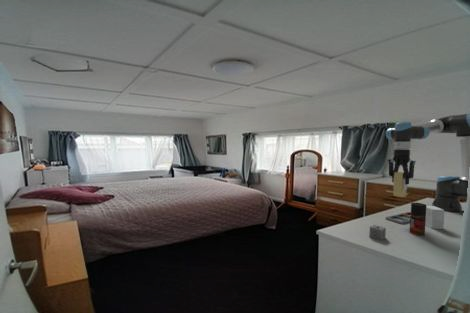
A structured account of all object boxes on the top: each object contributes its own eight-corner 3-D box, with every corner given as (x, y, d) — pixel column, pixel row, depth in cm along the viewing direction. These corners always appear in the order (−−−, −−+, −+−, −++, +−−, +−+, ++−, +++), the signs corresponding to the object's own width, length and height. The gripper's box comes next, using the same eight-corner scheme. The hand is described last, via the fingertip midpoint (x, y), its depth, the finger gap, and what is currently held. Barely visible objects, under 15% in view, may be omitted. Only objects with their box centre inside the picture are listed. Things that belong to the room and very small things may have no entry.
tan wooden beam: (397, 194, 132) (398, 171, 131) (406, 196, 128) (407, 172, 127) (393, 195, 130) (394, 172, 129) (401, 197, 126) (402, 173, 125)
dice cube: (369, 236, 107) (369, 226, 107) (374, 234, 110) (374, 224, 110) (380, 240, 103) (381, 230, 103) (385, 238, 106) (385, 227, 105)
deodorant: (407, 231, 113) (408, 203, 112) (413, 230, 115) (415, 202, 114) (420, 236, 108) (422, 206, 107) (427, 234, 110) (429, 205, 109)
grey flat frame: (408, 213, 142) (408, 211, 142) (425, 218, 134) (425, 215, 134) (385, 219, 132) (385, 216, 132) (402, 224, 124) (402, 221, 124)
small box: (443, 229, 117) (445, 210, 116) (431, 228, 118) (432, 209, 117) (433, 224, 124) (434, 205, 124) (422, 223, 125) (423, 205, 125)
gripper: (382, 148, 134) (380, 186, 135) (415, 149, 118) (413, 192, 119) (389, 148, 137) (388, 185, 138) (423, 149, 121) (421, 191, 122)
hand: (400, 188), depth 129 cm, fingers closed on tan wooden beam, 4 cm apart
